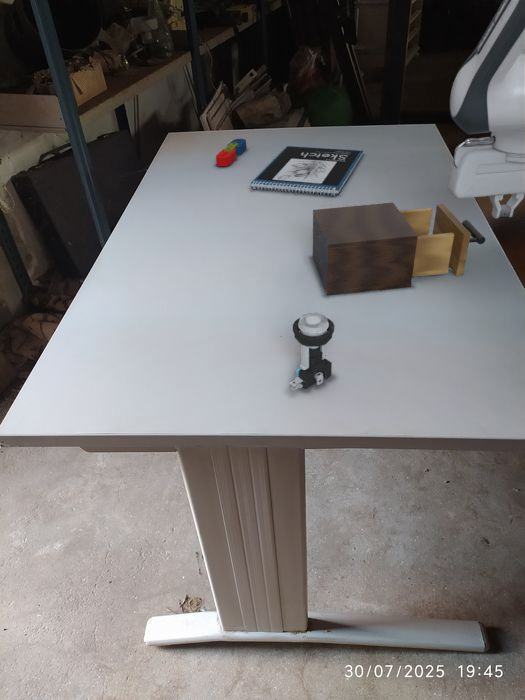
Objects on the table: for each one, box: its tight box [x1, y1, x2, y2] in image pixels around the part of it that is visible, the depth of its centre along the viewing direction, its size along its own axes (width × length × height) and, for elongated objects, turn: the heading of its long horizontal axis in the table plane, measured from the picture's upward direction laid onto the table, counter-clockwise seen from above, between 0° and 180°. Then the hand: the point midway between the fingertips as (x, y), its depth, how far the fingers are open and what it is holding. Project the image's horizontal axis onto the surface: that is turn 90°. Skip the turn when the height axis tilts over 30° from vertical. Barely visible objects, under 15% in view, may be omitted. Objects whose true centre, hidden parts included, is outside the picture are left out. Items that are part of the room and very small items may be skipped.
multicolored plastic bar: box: [215, 138, 247, 167], centre depth 149 cm, size 17×4×3 cm, turn 163°
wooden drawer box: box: [312, 202, 418, 296], centre depth 94 cm, size 15×14×10 cm
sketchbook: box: [250, 145, 364, 197], centre depth 138 cm, size 22×30×2 cm
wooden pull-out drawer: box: [399, 203, 487, 278], centre depth 95 cm, size 18×12×8 cm
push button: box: [289, 311, 335, 392], centre depth 71 cm, size 7×5×10 cm
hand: (501, 216), depth 94 cm, fingers closed
